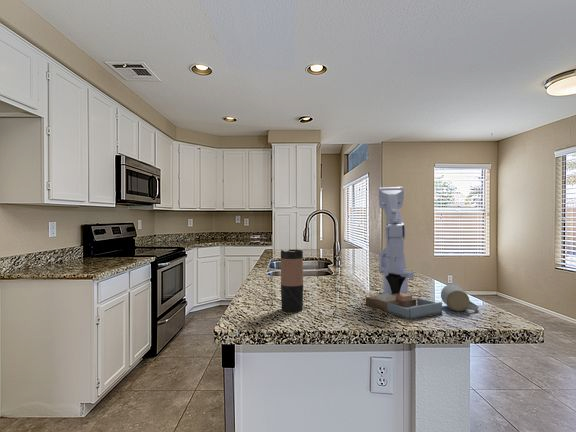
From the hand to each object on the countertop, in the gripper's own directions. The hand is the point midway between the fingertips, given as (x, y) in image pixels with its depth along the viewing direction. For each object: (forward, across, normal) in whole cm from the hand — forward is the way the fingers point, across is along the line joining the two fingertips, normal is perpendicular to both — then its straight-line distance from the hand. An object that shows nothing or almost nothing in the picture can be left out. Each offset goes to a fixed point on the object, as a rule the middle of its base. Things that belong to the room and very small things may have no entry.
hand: (395, 295), depth 116 cm
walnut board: (+3, 0, -2) cm, 4 cm away
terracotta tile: (0, +3, 0) cm, 3 cm away
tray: (+3, +10, -2) cm, 11 cm away
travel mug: (+3, -12, -36) cm, 38 cm away
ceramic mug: (+3, +15, +14) cm, 21 cm away
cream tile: (0, +1, -5) cm, 5 cm away
